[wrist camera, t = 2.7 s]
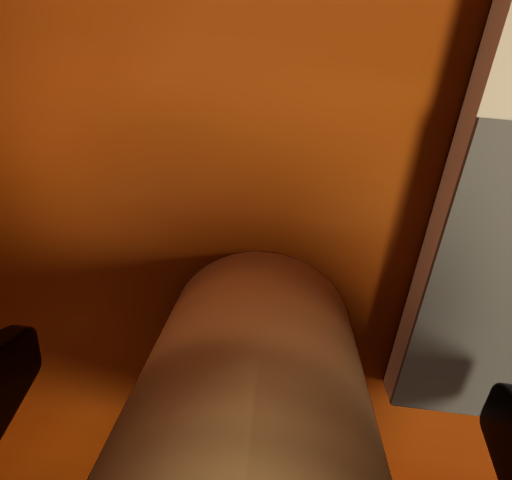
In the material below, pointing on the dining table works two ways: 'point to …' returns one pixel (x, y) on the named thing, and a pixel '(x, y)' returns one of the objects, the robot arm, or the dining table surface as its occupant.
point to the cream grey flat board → (465, 252)
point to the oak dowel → (250, 384)
